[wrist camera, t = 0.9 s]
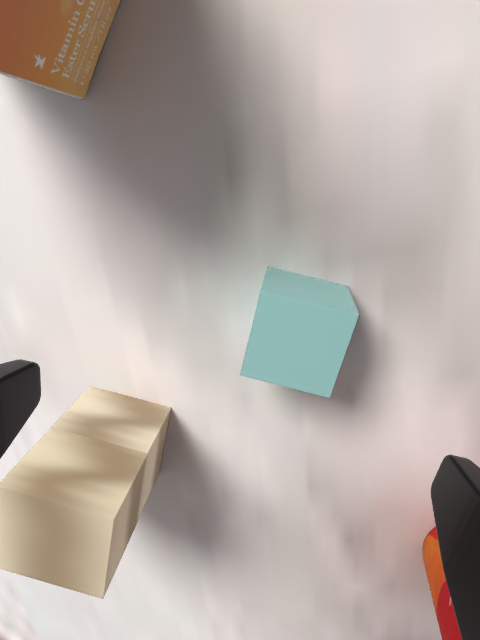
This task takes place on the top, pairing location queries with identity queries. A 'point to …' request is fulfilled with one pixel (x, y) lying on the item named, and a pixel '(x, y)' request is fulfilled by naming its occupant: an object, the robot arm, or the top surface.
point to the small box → (54, 41)
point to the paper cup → (439, 588)
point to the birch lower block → (121, 427)
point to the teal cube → (300, 332)
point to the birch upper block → (70, 511)
